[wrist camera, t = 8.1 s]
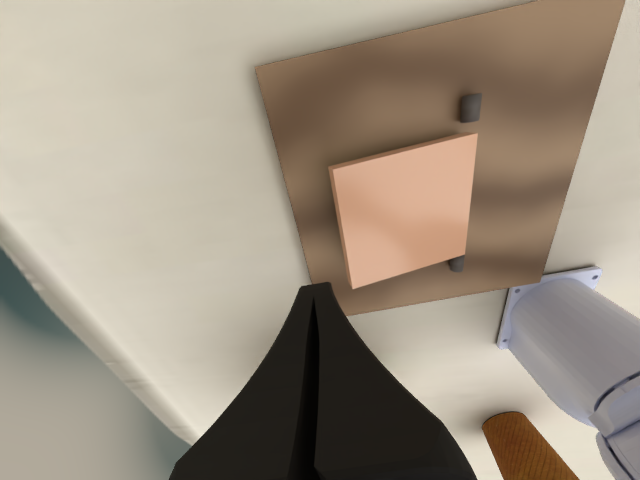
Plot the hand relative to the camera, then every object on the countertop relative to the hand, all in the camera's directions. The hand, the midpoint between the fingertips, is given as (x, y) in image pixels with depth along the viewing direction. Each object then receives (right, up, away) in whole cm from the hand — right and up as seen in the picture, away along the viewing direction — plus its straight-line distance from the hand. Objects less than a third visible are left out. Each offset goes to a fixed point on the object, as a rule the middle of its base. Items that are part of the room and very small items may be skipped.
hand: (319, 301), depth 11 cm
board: (+8, +6, +8) cm, 13 cm away
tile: (+10, +6, +7) cm, 13 cm away
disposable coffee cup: (+27, -24, +25) cm, 44 cm away
